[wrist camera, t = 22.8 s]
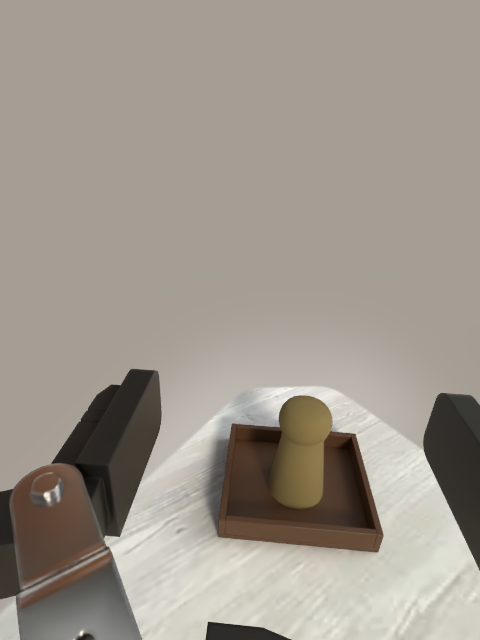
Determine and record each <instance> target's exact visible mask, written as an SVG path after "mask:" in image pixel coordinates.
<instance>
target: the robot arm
mask: <svg viewBox="0 0 480 640" xmlns="http://www.w3.org/2000/svg"><path fill="white" fill-rule="evenodd" d="M160 425H161V398H160V384H159V374H158V371H154V370H140V369H131V370H130V371H129V372H128V374H127V376H126V378H125V379H124V381H123V383H122V384H121V385H110V386H109V387H107V388H106V389H105V390H103V391H102V392H100V393H99V394H98V395H97V396H96V397H95V399H94V400H93V402H92V403H91V405H90V406H89V408H88V411H86V412H85V414H84V415H83V417H82V418H81V422H79V423H78V424H77V426H76V427H75V429H74V430H73V432H72V434H71V435H70V436H69V438H68V439H67V441H66V442H65V444H64V445H63V447H62V448H61V450H60V451H59V453H58V454H57V456H56V457H55V459H54V460H53V462H52V464H50V465H47V466H43V467H40V468H38V469H36V470H34V471H32V472H30V473H29V474H28V475H26V476H25V477H24V478H22V479H21V481H19V483H18V484H17V485H16V486H15V487H14V489H11V490H7V491H2V492H0V599H3V598H8V597H12V596H16V605H17V615H18V624H19V633H20V640H142V638H141V635H140V632H139V629H138V626H137V623H136V621H135V618H134V615H133V612H132V609H131V606H130V603H129V601H128V598H127V595H126V592H125V589H124V586H123V583H122V580H121V578H120V575H119V572H118V569H117V566H116V563H115V560H114V558H113V555H112V552H111V550H110V548H109V547H107V546H106V544H105V541H104V537H105V535H106V536H116V537H120V535H121V532H122V529H123V527H124V524H125V521H126V519H127V516H128V513H129V511H130V508H131V505H132V503H133V500H134V497H135V495H136V492H137V489H138V487H139V484H140V481H141V479H142V476H143V473H144V470H145V468H146V465H147V463H148V460H149V457H150V455H151V452H152V449H153V447H154V444H155V441H156V439H157V436H158V433H159V429H160ZM423 445H424V452H425V456H426V458H427V460H428V463H429V465H430V467H431V469H432V471H433V473H434V475H435V477H436V479H437V481H438V484H439V486H440V488H441V490H442V492H443V494H444V496H445V498H446V500H447V503H448V505H449V507H450V509H451V511H452V513H453V515H454V517H455V519H456V521H457V524H458V526H459V528H460V530H461V532H462V534H463V536H464V538H465V540H466V543H467V545H468V547H469V549H470V551H471V553H472V555H473V557H474V559H475V561H476V564H477V566H478V568H479V570H480V405H479V404H478V403H477V401H476V400H475V399H474V398H473V397H472V396H470V395H462V394H448V393H440V394H439V395H438V396H437V398H436V401H435V404H434V407H433V410H432V413H431V416H430V419H429V422H428V425H427V428H426V431H425V434H424V441H423ZM206 640H291V639H288V638H286V637H284V636H281V635H279V634H276V633H274V632H272V631H269V630H267V629H265V628H261V627H252V626H242V625H233V624H224V623H214V622H208V626H207V633H206Z"/></svg>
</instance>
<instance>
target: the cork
mask: <svg viewBox="0 0 480 640" xmlns="http://www.w3.org/2000/svg"><path fill="white" fill-rule="evenodd" d="M279 423H280V428H281V430H282V435H281V439H280V442H279V446H278V449H277V452H276V456H275V459H274V463H273V466H272V469H271V473H270V476H269V480H268V486H269V490H270V492H271V494H272V496H273V497H274V498H275V499H276V500H277V501H278V502H279V503H281V504H282V505H284V506H286V507H289V508H292V509H307V508H311V507H313V506H315V505H316V504H317V503H319V501H320V499H321V498H322V496H323V473H324V440H325V439H326V438H327V436H328V435H329V433H330V431H331V427H332V415H331V413H330V410H329V408H328V407H327V406H326V405H325V403H323V402H322V401H320V400H319V399H317V398H314V397H310V396H295V397H292V398H290V399H288V400H287V401H286V402H285V403H284V404H283V405H282V408H281V410H280V413H279Z"/></svg>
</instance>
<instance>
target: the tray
mask: <svg viewBox="0 0 480 640" xmlns="http://www.w3.org/2000/svg"><path fill="white" fill-rule="evenodd" d="M281 435H282V430H281V428H279V427H266V426H254V425H242V424H232V426H231V434H230V441H229V448H228V456H227V463H226V470H225V478H224V485H223V492H222V500H221V507H220V514H219V532H218V536H219V537H225V538H235V539H245V540H256V541H266V542H276V543H287V544H297V545H308V546H318V547H328V548H339V549H349V550H359V551H370V552H378V551H379V548H380V545H381V542H382V539H383V532H382V528H381V525H380V521H379V517H378V514H377V510H376V507H375V503H374V499H373V496H372V492H371V489H370V485H369V481H368V478H367V474H366V470H365V467H364V463H363V460H362V456H361V452H360V449H359V445H358V442H357V438H356V434H352V433H351V434H350V433H340V432H330V433H329V435H328V436H327V438H326V439H325V440H324V473H323V496H322V498H321V499H320V501H319V503H317V504H316V505H315V506H313V507H311V508H307V509H292V508H289V507H286V506H284V505H282V504H281V503H279V502H278V501H277V500H276V499H275V498H274V497H273V496H272V494H271V492H270V490H269V486H268V480H269V476H270V473H271V469H272V466H273V463H274V459H275V456H276V452H277V449H278V446H279V442H280V439H281Z"/></svg>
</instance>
